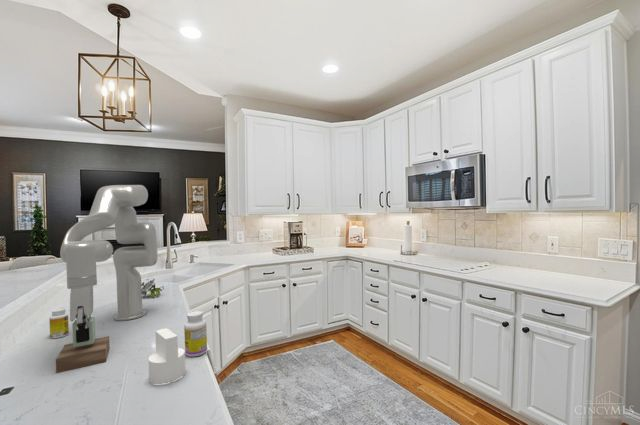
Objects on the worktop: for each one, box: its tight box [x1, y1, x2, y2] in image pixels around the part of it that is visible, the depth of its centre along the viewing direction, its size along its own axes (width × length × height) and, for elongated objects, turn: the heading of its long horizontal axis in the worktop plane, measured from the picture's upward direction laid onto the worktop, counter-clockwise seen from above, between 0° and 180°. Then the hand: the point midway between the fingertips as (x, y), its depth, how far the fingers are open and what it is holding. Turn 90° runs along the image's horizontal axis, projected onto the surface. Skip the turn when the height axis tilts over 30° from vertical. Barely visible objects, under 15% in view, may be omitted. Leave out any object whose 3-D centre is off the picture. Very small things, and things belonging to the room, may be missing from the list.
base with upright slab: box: [148, 327, 186, 385], centre depth 85 cm, size 9×9×12 cm
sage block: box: [71, 316, 96, 347], centre depth 98 cm, size 5×5×7 cm
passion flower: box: [141, 278, 165, 299], centre depth 174 cm, size 11×11×12 cm
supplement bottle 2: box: [183, 310, 208, 358], centre depth 99 cm, size 7×7×13 cm
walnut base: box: [55, 335, 111, 374], centre depth 98 cm, size 12×12×4 cm
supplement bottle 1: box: [48, 307, 70, 339], centre depth 118 cm, size 6×6×10 cm
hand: (84, 337), depth 98 cm, fingers closed on sage block, 4 cm apart
